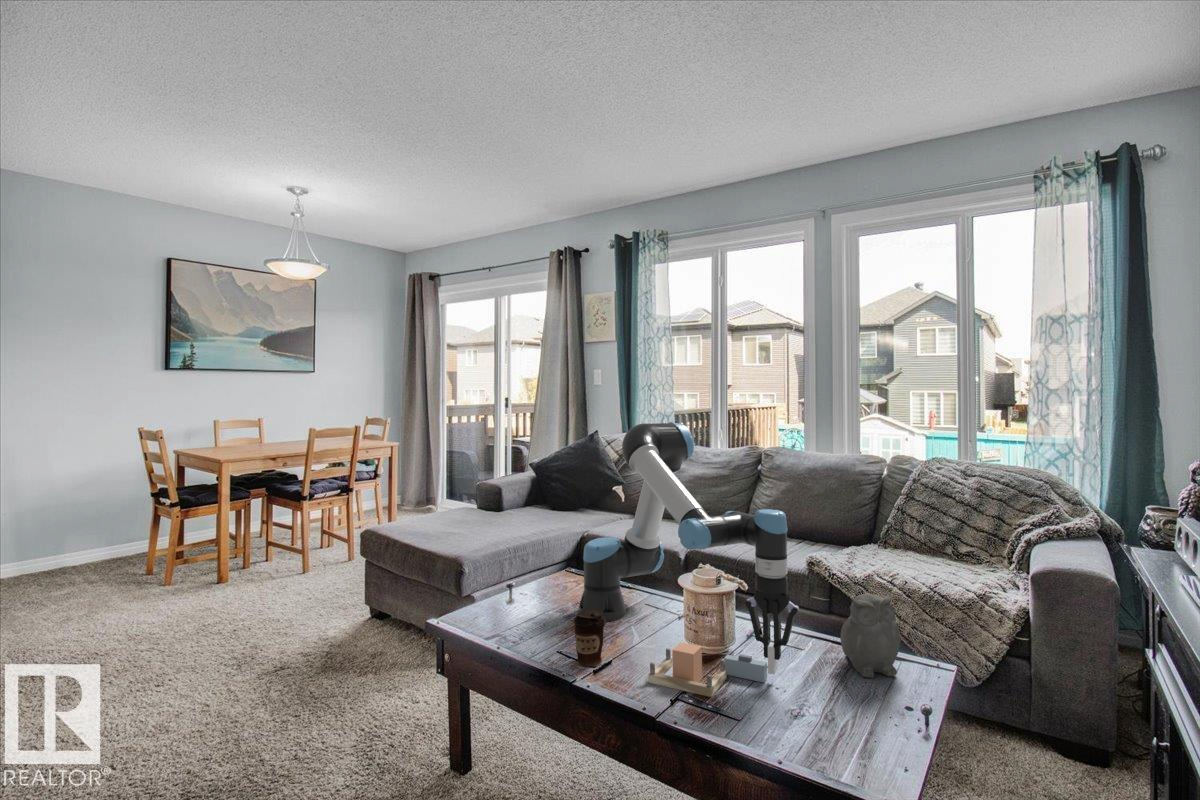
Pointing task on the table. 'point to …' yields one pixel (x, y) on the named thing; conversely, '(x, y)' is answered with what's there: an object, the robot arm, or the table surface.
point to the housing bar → (746, 667)
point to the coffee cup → (589, 637)
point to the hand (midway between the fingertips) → (772, 671)
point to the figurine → (871, 635)
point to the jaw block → (687, 662)
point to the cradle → (681, 684)
